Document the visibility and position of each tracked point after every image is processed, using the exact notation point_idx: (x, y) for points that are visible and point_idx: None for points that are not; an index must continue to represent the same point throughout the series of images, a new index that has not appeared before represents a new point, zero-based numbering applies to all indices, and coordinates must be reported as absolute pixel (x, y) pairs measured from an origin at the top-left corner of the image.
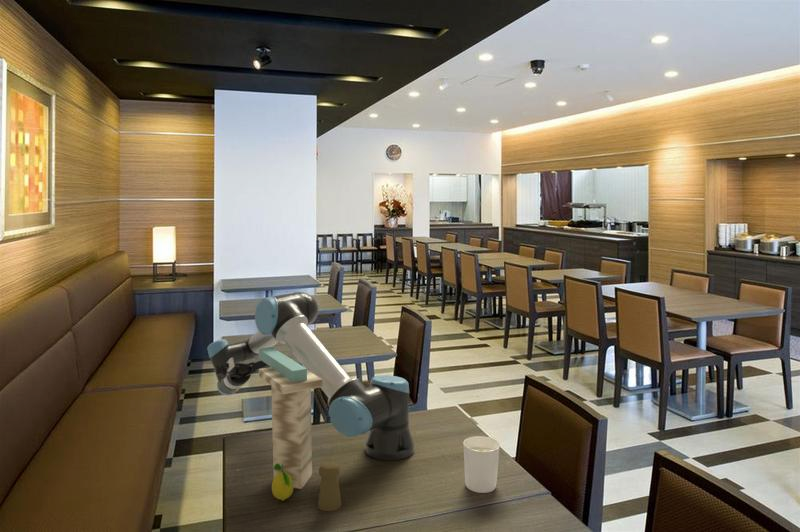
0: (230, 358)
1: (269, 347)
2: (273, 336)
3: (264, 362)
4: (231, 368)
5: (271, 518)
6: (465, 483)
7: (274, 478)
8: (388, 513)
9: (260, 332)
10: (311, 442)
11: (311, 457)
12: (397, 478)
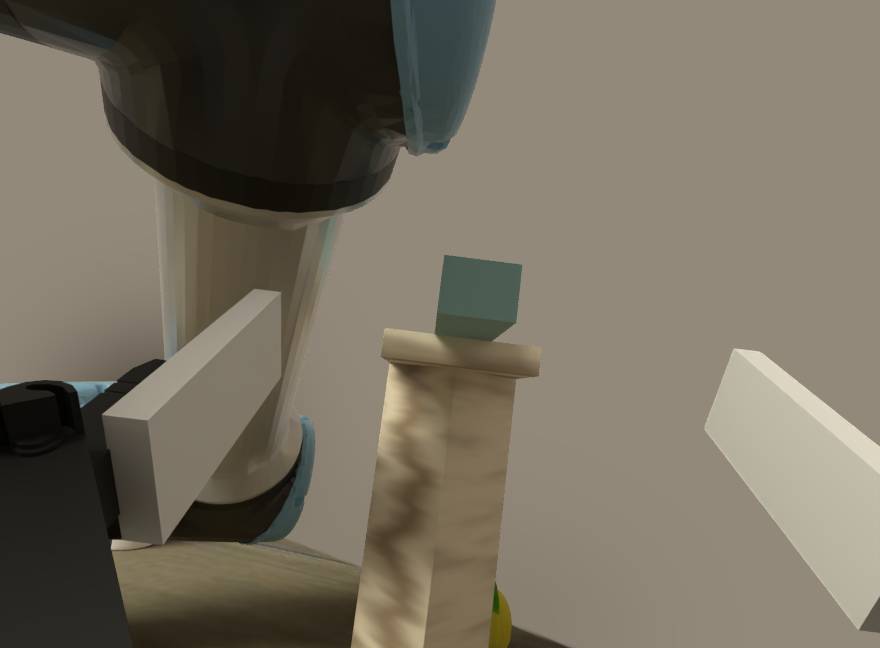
0: (762, 359)
1: (458, 258)
2: (369, 161)
3: (502, 332)
4: (763, 494)
5: (522, 641)
6: (142, 543)
7: (506, 602)
8: (322, 570)
9: (465, 108)
10: (360, 581)
11: (355, 635)
12: (193, 601)
